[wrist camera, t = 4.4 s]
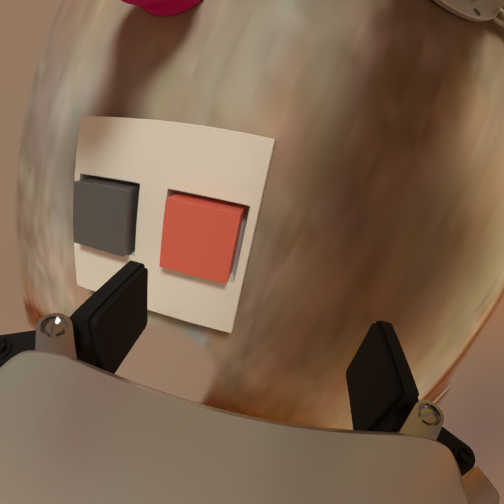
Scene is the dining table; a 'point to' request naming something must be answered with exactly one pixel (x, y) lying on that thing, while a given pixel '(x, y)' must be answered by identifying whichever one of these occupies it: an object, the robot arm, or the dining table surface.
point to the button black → (105, 214)
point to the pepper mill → (164, 6)
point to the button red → (200, 236)
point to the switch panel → (165, 185)
